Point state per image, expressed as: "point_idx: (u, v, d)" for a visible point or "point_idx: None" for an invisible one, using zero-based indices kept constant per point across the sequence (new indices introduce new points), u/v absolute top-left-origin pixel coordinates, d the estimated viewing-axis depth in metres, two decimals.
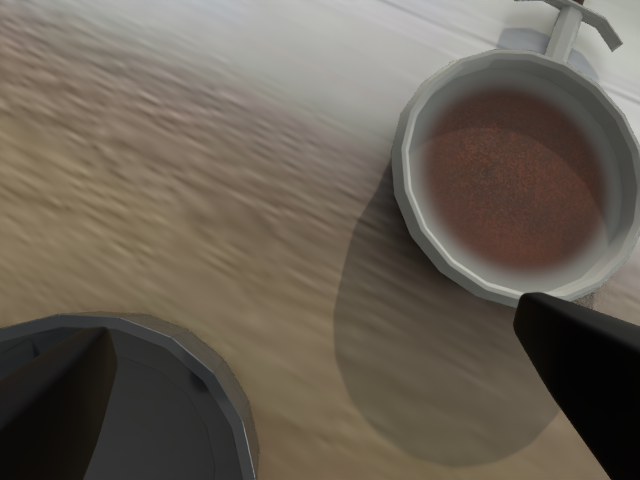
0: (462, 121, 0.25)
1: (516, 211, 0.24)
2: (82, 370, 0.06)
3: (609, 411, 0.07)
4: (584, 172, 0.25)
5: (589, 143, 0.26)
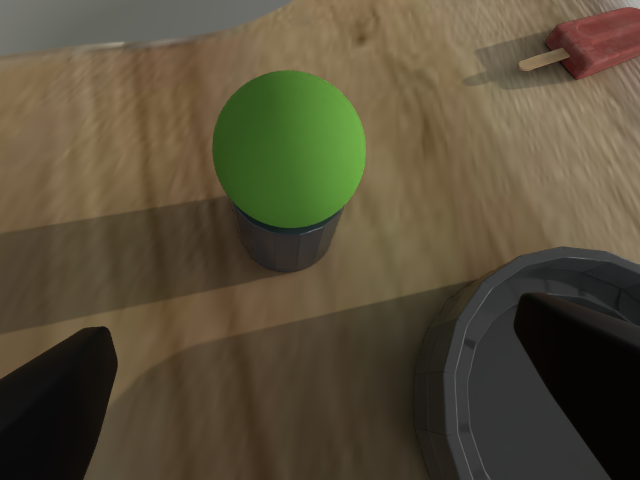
0: None
1: None
2: (82, 370, 0.06)
3: (609, 411, 0.07)
4: None
5: None
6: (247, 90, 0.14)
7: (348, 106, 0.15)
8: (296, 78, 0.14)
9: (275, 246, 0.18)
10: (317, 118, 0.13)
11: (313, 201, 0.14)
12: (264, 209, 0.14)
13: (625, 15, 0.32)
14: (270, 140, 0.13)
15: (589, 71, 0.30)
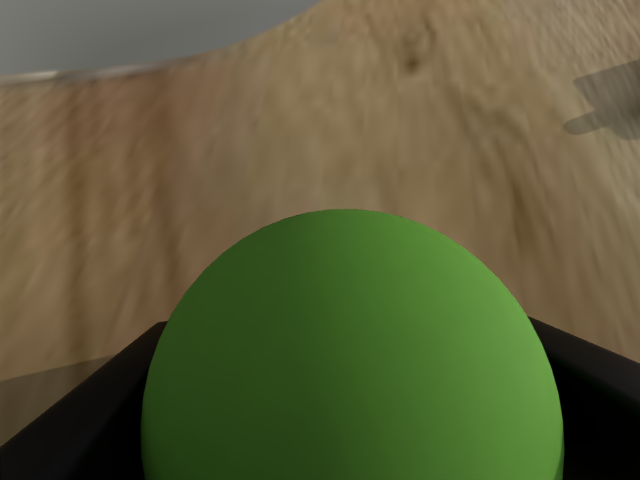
0: None
1: None
2: None
3: None
4: None
5: None
6: (236, 320, 0.04)
7: (533, 337, 0.05)
8: (395, 283, 0.04)
9: None
10: (484, 464, 0.04)
11: None
12: None
13: None
14: None
15: None
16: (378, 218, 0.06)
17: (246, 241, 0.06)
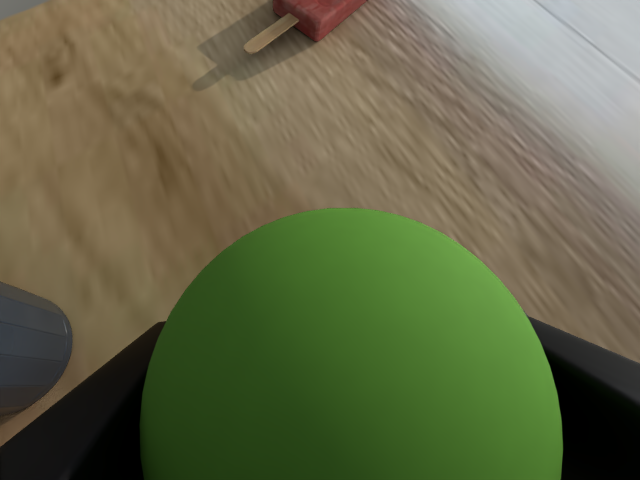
0: None
1: None
2: None
3: None
4: None
5: None
6: (235, 318, 0.04)
7: (532, 336, 0.05)
8: (393, 281, 0.04)
9: None
10: (482, 463, 0.04)
11: None
12: None
13: None
14: None
15: (324, 29, 0.28)
16: (377, 217, 0.06)
17: (245, 240, 0.06)
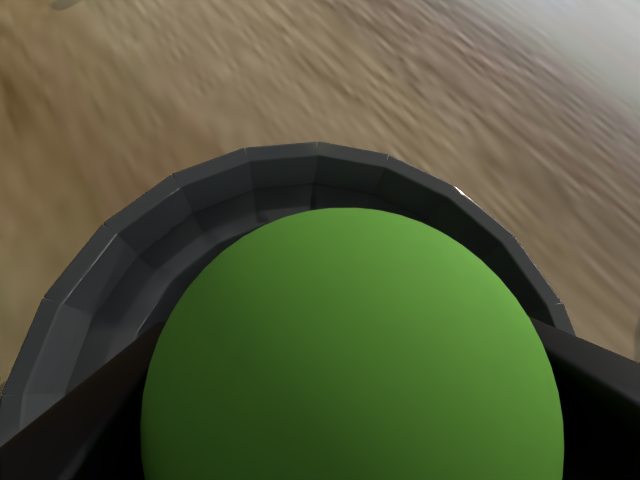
0: None
1: None
2: None
3: None
4: None
5: None
6: (235, 317, 0.04)
7: (533, 336, 0.05)
8: (395, 280, 0.04)
9: None
10: (483, 462, 0.04)
11: None
12: None
13: None
14: None
15: None
16: (378, 216, 0.06)
17: (246, 239, 0.06)
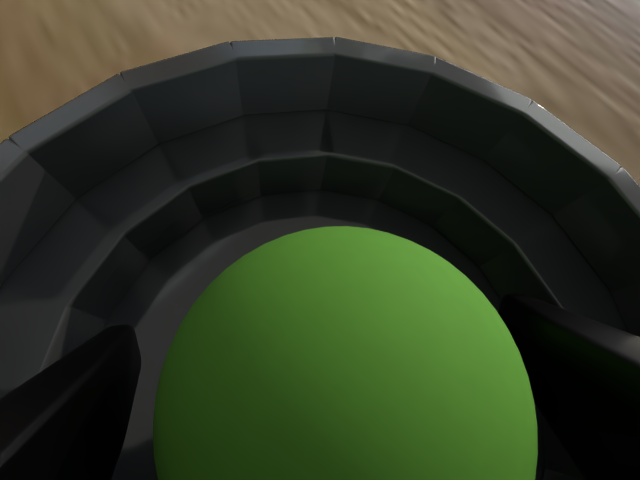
0: None
1: None
2: (111, 367, 0.06)
3: (585, 414, 0.07)
4: None
5: None
6: (239, 337, 0.05)
7: (511, 350, 0.05)
8: (382, 303, 0.05)
9: None
10: (458, 466, 0.04)
11: None
12: None
13: None
14: None
15: None
16: (370, 238, 0.06)
17: (248, 259, 0.06)
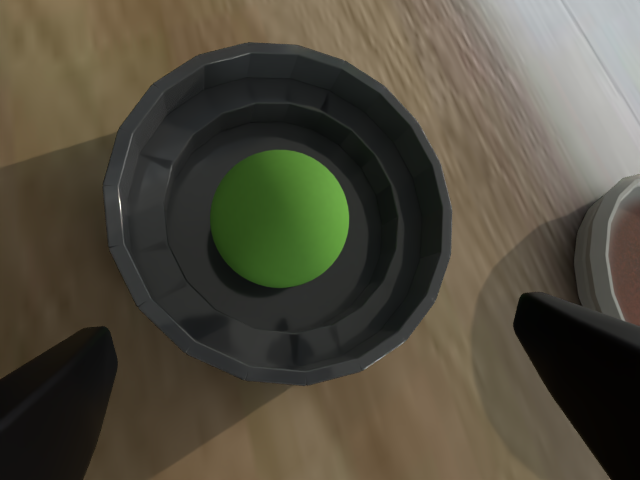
0: None
1: None
2: (82, 370, 0.06)
3: (609, 411, 0.07)
4: None
5: None
6: (244, 185, 0.15)
7: (332, 220, 0.16)
8: (289, 190, 0.15)
9: None
10: (291, 240, 0.15)
11: (277, 286, 0.17)
12: (239, 274, 0.17)
13: None
14: (247, 246, 0.15)
15: None
16: (301, 166, 0.16)
17: (257, 158, 0.16)
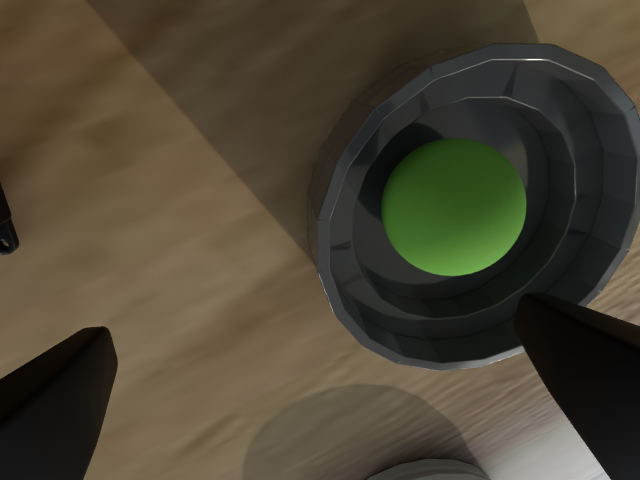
0: None
1: None
2: (82, 370, 0.06)
3: (609, 411, 0.07)
4: None
5: None
6: (476, 167, 0.15)
7: (451, 258, 0.16)
8: (475, 212, 0.15)
9: None
10: (425, 221, 0.15)
11: (382, 213, 0.18)
12: (389, 176, 0.18)
13: None
14: (414, 180, 0.16)
15: None
16: (506, 222, 0.15)
17: (510, 174, 0.15)
